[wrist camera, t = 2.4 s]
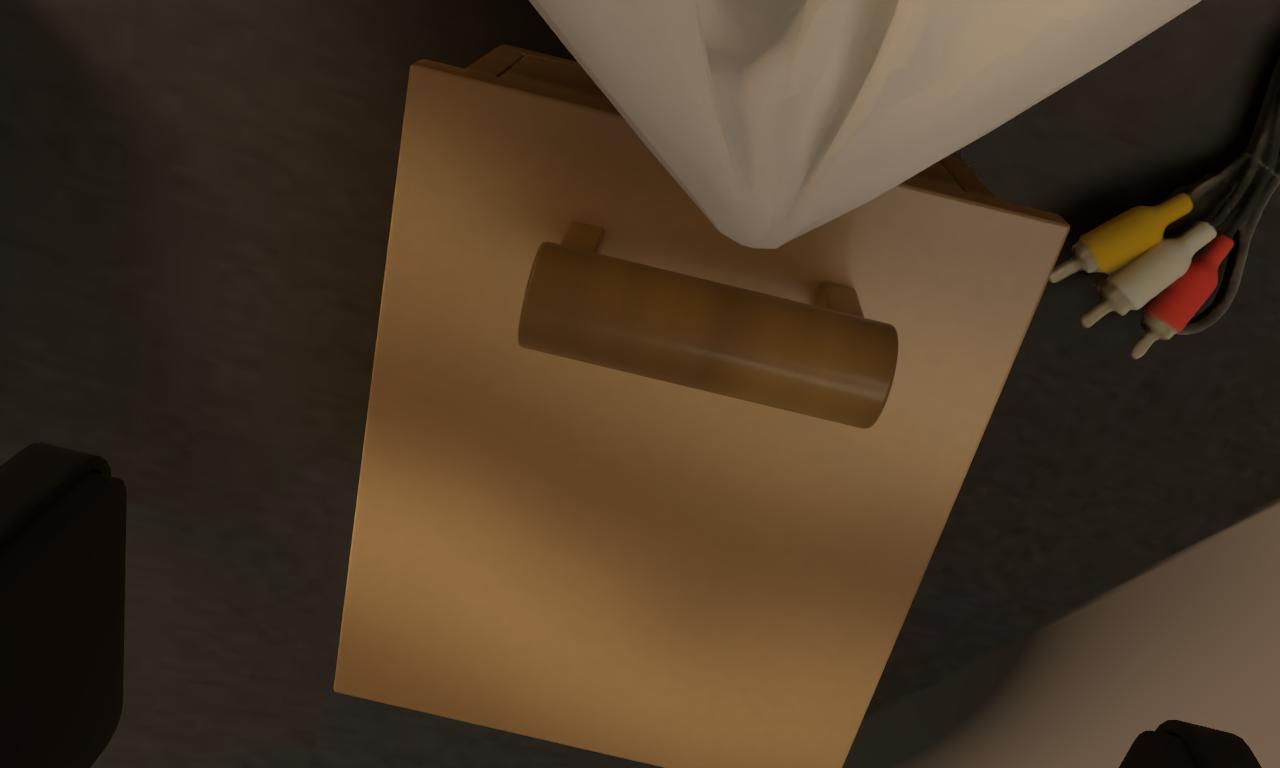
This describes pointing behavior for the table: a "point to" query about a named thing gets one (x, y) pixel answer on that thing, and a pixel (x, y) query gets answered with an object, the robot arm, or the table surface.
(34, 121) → the table surface
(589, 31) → the basket
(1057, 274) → the composite cable
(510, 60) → the wooden box
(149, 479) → the table surface
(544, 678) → the box lid
